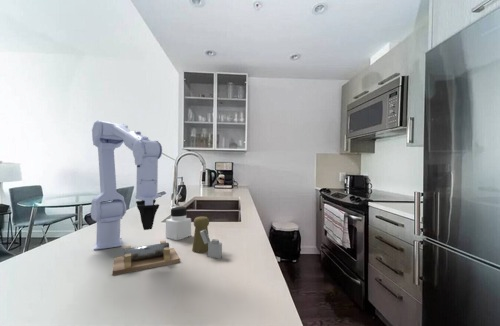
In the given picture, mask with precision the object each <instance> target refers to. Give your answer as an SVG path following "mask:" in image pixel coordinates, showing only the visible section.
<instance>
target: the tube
mask: <svg viewBox="0 0 500 326" xmlns="http://www.w3.org/2000/svg"><path fill="white" fill-rule="evenodd" d="M167 247H169V248H170V243H169V242H166V243H161V244H160V243H157V244H156V243H155V244H148V245H143V246H135V247H131V248H128V249H125V248H124V249H123V256H124V263H125V254H130V253H131V261H136V260H142V259H147V258H153V257H159V256H163V249H164V248H167Z"/></svg>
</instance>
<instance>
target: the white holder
mask: <svg viewBox="0 0 500 326" xmlns="http://www.w3.org/2000/svg"><path fill="white" fill-rule="evenodd" d="M200 234H201V237H202V239H203V242H204V244H207V243H208V251H207V257H208V258H215V259H221V258H222V257H223V242H220V240H219V239H216V238H212V239H210V237H209V236H208V235H209V233H208V234H207V231H206V229H205V230H203V231H201V232H200Z"/></svg>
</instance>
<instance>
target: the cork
mask: <svg viewBox="0 0 500 326" xmlns="http://www.w3.org/2000/svg"><path fill="white" fill-rule="evenodd" d="M193 219H194V220H193V225H194V232H193V233H194V235H193V239H192V240H193V241H192V248H191V251H192V252H193V253H197V254H200V253H202V254H203V253H208V243H207V244H204V242H203V239H202V237H201V234H200V232H201V231H203V230H205V229H206V231H207V234H208V236H209V228H208V226H209V225H210V220H209V218H208V217H207V216H196V217H195V218H193Z"/></svg>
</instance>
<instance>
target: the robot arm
mask: <svg viewBox="0 0 500 326" xmlns="http://www.w3.org/2000/svg"><path fill="white" fill-rule="evenodd" d="M91 133H92V134H91V135H92V136H91V137H92V144H93V146H95V147H96V148H97V152H98V156H97V157H98V171H99V186H100V187H99V190H100V193H98V195H96V196H95V197H94V198H92V200H91V207H90V216H91V219H92V220H93V221H94V222H96V241H95V242H96V243H95V244H94V246H93V250H94V251H96V250H103V249H104V250H105V249H111V248H116V247H121V246H122V242H123V241H122V240H123V239H122V237H121V220H122V219H123V218H124V216H125V215H126V213H127V204H126V202H125V196H123V195H122V194H120V193H119V192H118V191H117V190H118V189H117V180H116V179H117V178H116V176H117V175H116V164H115V163H116V162H115V161H116V159H115V150H116V149H118V148H120V147H122V145H123V144H124V145H125V147H126V148H128V149H129V150H131V151H132V154H133V159H134V165H135V166H136V186H135V187H136V190H135V191H136V192H135V194H136V195H135V199H136V201H135V204H136V208H137V210H138V212H139V215H140V222H141V224H142V228H143V231H149V230H152V229H153V227H154V226H153V225H154V222H155V217H156V213H157V211H158V209H159V207H160V204H156V199H158V198H162V193H161V194H159V193H158V179H159V177H158V176H159V175H158V173H159V169H158V168H159V166H158V165H159V159H160V158H161V157H162V153H163V146H162V144H161V143H160V142H159V140H151V139H149V137H148V136H146V135H145V136H144V135H143V134H142V132H141V131H140V130H133V131H131V130H130V129H129V126H128V125H126V124H124V123H116V122H111V121H110V122H109V121H103V120H99V119H98V120H96V121H94V123H93V126H92V128H91Z"/></svg>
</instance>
